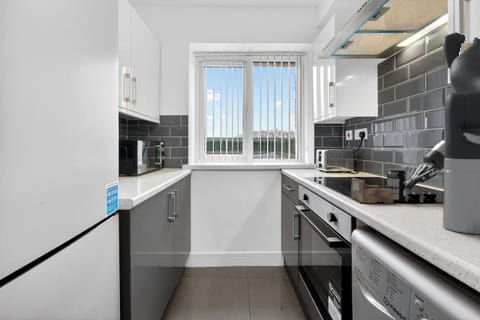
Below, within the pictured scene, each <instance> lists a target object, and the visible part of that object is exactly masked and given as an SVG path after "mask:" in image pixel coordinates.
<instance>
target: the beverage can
mask: <svg viewBox="0 0 480 320" xmlns="http://www.w3.org/2000/svg"><path fill="white" fill-rule="evenodd" d="M406 183H407V172H406V169H405V168H388V169H387V171H386V189H393V202H394V201H403V202H405V201H404V200H406V199H407V189H406Z"/></svg>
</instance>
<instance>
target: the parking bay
mask: <svg viewBox="0 0 480 320" xmlns="http://www.w3.org/2000/svg"><path fill="white" fill-rule="evenodd" d="M350 187H351V191H350V192H351V193H350V195H351V199H353V198H354V199H353V200H355V199H356V200H355V201H357V200H358V201H357V202H359V201H360V202H359V203H361V202H362V203H361V204H378V203H377V202H384V203H383V204H394V201H393V189H387V188H380V187H381V186H380V185H376V184H375V185H372V184H371V185H366V180H363V179H359V178H355V177H351V186H350Z"/></svg>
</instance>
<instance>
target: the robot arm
mask: <svg viewBox="0 0 480 320" xmlns="http://www.w3.org/2000/svg"><path fill="white" fill-rule="evenodd" d="M457 32H458V31H455V32H453V33H449V34H447V35H445V36H444V37H443V39H442V50H443V56H444V59H445V63H446V66H447V69H448V68H449V69H450V73H449V80H450V84H451V86H452V88H454V92H452V93H448V95H447V96H446V98H445V100H444V101H445V102H444V108H443V111H444V113H443V115H444V133H445V135H444V138H443V139H442V140H441V141H440V142H439V143H436V145H434V147H433V148H431V150H430V151H429V152H427V153H426V154H425V155H424V156H423V158H422V159H423V160H422V161H423V163H421V164H420V165H419V166H418V167H417V168H416V167H413V168H412V169H411V171H410V174H409V178H410V179H409V180H408V181H406V190H409V191H410V190H412V189H413V188H414V187H415V186H416V185H417V184H423V183H425V182H426V181H428V180H431V179H432V178H434V177H436V176H437V173H436V172H440V171H442V170H443V198H442V199H443V200H442V201H443V205H442V207H443V208H442V227H443V228H444V229H447V230H448V231H449V230H450V231H453V232H457V233H464V234H473V235H480V143H478V142H475V141H471V140H469V139H468V137H467V136H466V135H465V134H469V135H472V136H475V137H480V39H478V38H477V37H476V38H474V40H473V43H472V45H471V47H469V48H468V49H467V50H465V51H464V52H463V53H461V54H460V55H459V52H460V48H461V44H462V43H464V41H465V36H464V35H461V34H459V33H457Z"/></svg>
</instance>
